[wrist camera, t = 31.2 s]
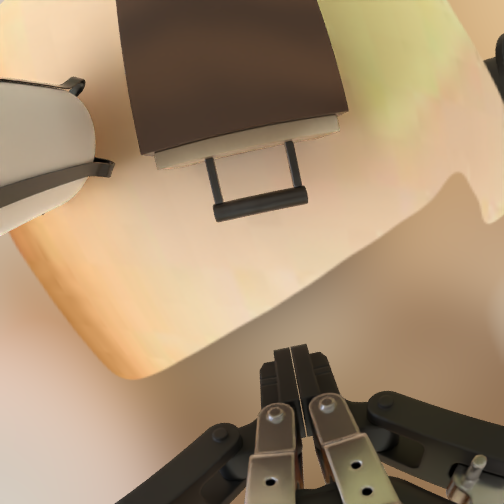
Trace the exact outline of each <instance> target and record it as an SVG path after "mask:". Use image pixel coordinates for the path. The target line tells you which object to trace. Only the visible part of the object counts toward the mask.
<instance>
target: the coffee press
mask: <svg viewBox="0 0 504 504" xmlns="http://www.w3.org/2000/svg"><path fill="white" fill-rule="evenodd" d="M0 80H2V81H0V236H1V235H3V234H5V233H7V232H9V231H11V230H12V229H14V228H16V227H18V226H20V225H22V224H24V223H26V222H28V221H30V220H32V219H34V218H36V217H38V216H40V215H44V214H45V213H46V212H48V211H50V210H52V209H54V208H56V207H59V206H60V205H62V204H64V203H66V202H67V201H69V200H70V199H71V198H73V197H74V196H75V195H76V194H77V193H78V192H79V190H80V189H81V188H82V186H83V185H84V183H85V181H86V180H87V178H88V176H100V177H111V174H112V171H113V168H114V165H115V163H114V162H112V161H110V160H106V159H101V158H96V157H94V155H95V131H94V126H93V122H92V119H91V117H90V114H89V112H88V110H87V109H86V107H85V106H84V104H83V103H82V102H81V101H80V100H79V99H78V98H77V96H78V95H79V94H80V93H81V92H82V91H83V89H84V87H85V80H84V79H81V78H77V77H71V78H70V79H69V80H67V81H66V82H64V83H63V84H61V85H53V84H47V83H40V82H34V81H27V80H20V79H12V78H4V77H0ZM9 81H11V82H9ZM18 82H19V83H18ZM26 83H27V84H26ZM33 84H35V85H33ZM40 85H42V86H40ZM46 86H48V87H46ZM52 87H55V88H52ZM57 88H61V89H57ZM70 88H72V89H71V90H70V91H69V92H67V91H65V90H62V89H70Z"/></svg>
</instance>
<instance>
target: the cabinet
mask: <svg viewBox="0 0 504 504" xmlns="http://www.w3.org/2000/svg"><path fill="white" fill-rule="evenodd" d="M116 6H117V15H118V24H119V32H120V40H121V47H122V54H123V61H124V67H125V74H126V80H127V86H128V92H129V97H130V103H131V108H132V113H133V118H134V124H135V128H136V133H137V138H138V143H139V148H140V152H141V155H146V156H154V153H156V152H160V151H163V150H167V149H170V148H174V147H177V146H181V145H185V144H188V143H192V142H196V141H200V140H204V139H208V138H212V137H216V136H220V135H225V134H229V133H233V132H238V131H243V130H247V129H252V128H257V127H262V126H267V125H272V124H278V123H283V122H289V121H295V120H301V119H307V118H314V117H321V116H328V115H337V117H338V116H340V115H342V114H344V113H346V112H348V106H347V101H346V97H345V93H344V89H343V85H342V81H341V78H340V74H339V70H338V66H337V63H336V59H335V56H334V52H333V49H332V46H331V42H330V39H329V36H328V33H327V30H326V26H325V23H324V20H323V17H322V14H321V11H320V9H319V6H318V3H317V0H116Z"/></svg>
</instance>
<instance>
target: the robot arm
mask: <svg viewBox="0 0 504 504" xmlns="http://www.w3.org/2000/svg"><path fill="white" fill-rule="evenodd" d="M291 352H292V357H293V363H294V368H295V373H296V379H297V384H298V389H299V394H300V399H301V404H302V410H303V415H304V420H305V425H306V430H307V436H313V440H314V445H315V451H316V455H317V457H318V461H319V464H320V467H321V471H322V474H323V477H324V480H325V483H326V485H325V486H322V487H320V488H317V489H304V477H303V457H302V440H301V438H303V437H306V434H305V428H304V423H303V418H302V412H301V406H300V400H299V395H298V389H297V384H296V379H295V374H294V369H293V364H292V359H291V354H290V349H289V347H288V348H283V349H278V350H274V358H275V361H273V362H267V363H264V364H263V366H262V368H261V369H260V385H261V386H260V387H261V388H260V389H261V411H260V412H259V414H258V417H257V419H256V420H254V421H253V422H252V423H250V424H248V425H245V426H243V427H240V428H237V427H236V426H235V425H233V424H230V423H220V424H216V425H214V426H212V427H210V428H209V429H208V430H206V431H205V432H204V433H203V434H202V435H201V436H200V437H198V438H197V439H196V440H195V441H194V442H193V443H192V444H190V445H189V446H188V447H187V448H186V449H184V450H183V451H182V452H181V453H180V454H178V455H177V456H176V457H175V458H174V459H172V460H171V461H170V462H169V463H168V464H166V465H165V466H164V467H163V468H161V469H160V470H159V471H157V472H156V473H155V474H154V475H152V476H151V477H150V478H149V479H147V480H146V481H145V482H143V483H142V484H141V485H139V486H138V487H137V488H136V489H134V490H133V491H132V492H130V493H129V494H127V495H126V496H125V497H123V498H122V499H121V500H119V501H118V502H117V503H115V504H230V503H231V502H232V501H233V500H234V499H235V498H236V497H237V495H239V494H240V492H241V491H242V490H243V489H244V488H245V487H246V494H245V503H244V504H504V426H501V425H497V424H494V423H490V422H487V421H483V420H479V419H476V418H473V417H469V416H466V415H463V414H459V413H456V412H453V411H449V410H446V409H443V408H440V407H437V406H434V405H431V404H428V403H425V402H422V401H419V400H416V399H413V398H410V397H407V396H405V395H402V394H399V393H396V392H393V391H383V392H379V393H377V394H375V395H374V396H372V397H371V398H370V399H369V401H368V402H351V401H348V400H346V399H344V398H343V397H342V396H341V395H340V393H339V390H338V388H337V384H336V382H335V379H334V376H333V373H332V371H331V368H330V365H329V362H328V360H327V357H326V356H325V355H323V354H322V353H321V352H316V353H312V354H309V351H308V348H307V345H306V344H303V345H298V346H293V347H291ZM381 462H383V463H385V464H387V465H390V466H392V467H394V468H396V469H399V470H401V471H403V472H405V473H408V474H410V475H412V476H415V477H417V478H420V479H422V480H425V481H427V482H430V483H432V484H434V485H437V486H440V487H442V488H445V489H446V494H447V497H448V499H449V500H448V499H445V498H443V497H441V496H438V495H436V494H434V493H432V492H429V491H427V490H425V489H423V488H421V487H418V486H416V485H414V484H412V483H410V482H408V481H405V480H403V479H400V478H396V477H391V476H388V475H387V473H386V471H385V469H384V467H383V465H382V463H381Z"/></svg>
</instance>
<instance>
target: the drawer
mask: <svg viewBox="0 0 504 504" xmlns="http://www.w3.org/2000/svg"><path fill="white" fill-rule="evenodd" d="M339 131H340V128H339V123H338V119H337V115H328V116H321V117H314V118H307V119H301V120H295V121H289V122H283V123H278V124H272V125H267V126H262V127H257V128H252V129H247V130H243V131H238V132H233V133H229V134H225V135H220V136H216V137H212V138H208V139H204V140H200V141H196V142H192V143H188V144H185V145H181V146H177V147H174V148H170V149H167V150H163V151H160V152H156V153H154V157H155V161H156V165H157V169H158V170H161V169H172V168H182V167H186V166H189V165H193V164H197V163H201V162H206V167H207V171H208V175H209V180H210V184H211V188H212V192H213V197H214V201H215V204H214V205H213V210H214V215H215V219H216V221H217V222H222V221H227V220H231V219H236V218H240V217H245V216H250V215H254V214H259V213H264V212H269V211H273V210H278V209H283V208H288V207H293V206H298V205H303V204H307V203H308V196H307V191H306V188H305V186H302V183H301V178H300V173H299V168H298V163H297V158H296V154H295V149H294V144H293V143H295V142H300V141H306V140H312V139H318V138H321V137H324V136H327V135H330V134H333V133H336V132H339ZM284 144H285V149H286V153H287V158H288V163H289V168H290V172H291V177H292V182H293V188H288V189H283V190H278V191H273V192H269V193H264V194H259V195H254V196H250V197H245V198H240V199H236V200H231V201H227V202H223V197H222V193H221V188H220V184H219V180H218V175H217V171H216V166H215V162H214V159H218V158H222V157H226V156H230V155H235V154H239V153H244V152H249V151H253V150H258V149H263V148H268V147H273V146H278V145H284Z"/></svg>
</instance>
